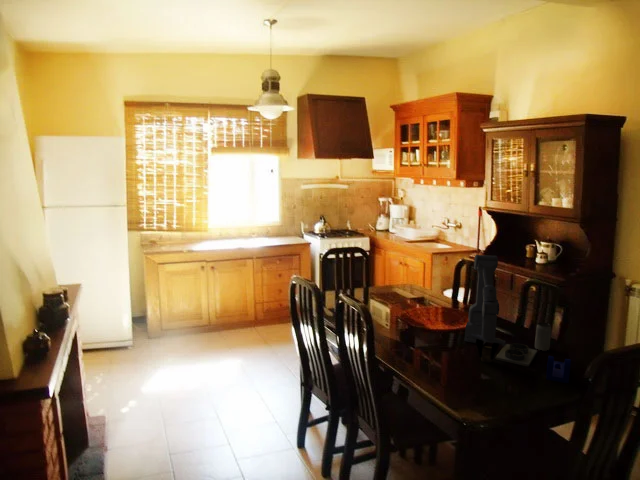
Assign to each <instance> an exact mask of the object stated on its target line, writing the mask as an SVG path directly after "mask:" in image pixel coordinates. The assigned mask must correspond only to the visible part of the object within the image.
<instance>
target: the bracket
mask: <svg viewBox="0 0 640 480" xmlns="http://www.w3.org/2000/svg"><path fill="white" fill-rule="evenodd" d="M546 364H547V365H546V377H545V380H547V381H552V382H558V383H563V384H567V383H568V384H570V383H569V381H570V374H571V373H570V372H571V365H572V359H571V358H564V362H563V361H557V360H555V356H552V355H548V358H547V363H546ZM559 368H560V369H559Z"/></svg>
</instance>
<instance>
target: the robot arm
mask: <svg viewBox="0 0 640 480" xmlns="http://www.w3.org/2000/svg"><path fill="white" fill-rule="evenodd" d="M498 265H499V259H498V256H497V255H488V254H487V255H486V254H476V255H475V256H474V259H473V269H474V270H475V271H477V283H476V296H475V303H473V304H472V305H470V306H469V310H468V317H467V318H468V321H467V322H466V324H465V329H464V340H463V341H464V342H468V343H472V344H475V345H476V348H477V350H478V357H479V358H481V355H482V347H483V346H485V344H486V343H491V347H492V354H491V360H494V359H495V354H496V353H497V350H498V348H499V347H500V346H502V347H504V346H505V345H506V344H507V343H506V340H505V339H501V338H497V337H496V330H497V322H498V321H497V319H498V316H499V313H500V303H499V300H498V298H497V288H496V287H495V286H494V272H495V271H496V270H497V268H498Z"/></svg>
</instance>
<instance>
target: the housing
mask: <svg viewBox="0 0 640 480" xmlns="http://www.w3.org/2000/svg"><path fill="white" fill-rule="evenodd" d="M537 353H538V350H537V349H534V348H530V347H529V346H528V345H526V344H523V343H518V342H513V343H505V346H502V348H501V350H500V351H499V352H498V354H497V355H496V356H495V360H497V361H501V362H505V363H506V362H507V363H509V364H515V365H518V366H523V367H530V365H531V364H532V362H533V360H534V359H535V358H536V355H537Z"/></svg>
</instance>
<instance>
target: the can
mask: <svg viewBox="0 0 640 480" xmlns="http://www.w3.org/2000/svg"><path fill="white" fill-rule="evenodd" d="M551 326H552V325H551V324H550V323H547V322H544V321H543V322H542V321H541V322H538V323H537V325H536V329H535V330H536V331H535V340H534V348H535V350H537V349H538V350H537V351H540V350H542V351H541V352H547V350H548V351H549V350H550V345H551V338H552V327H551Z"/></svg>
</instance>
